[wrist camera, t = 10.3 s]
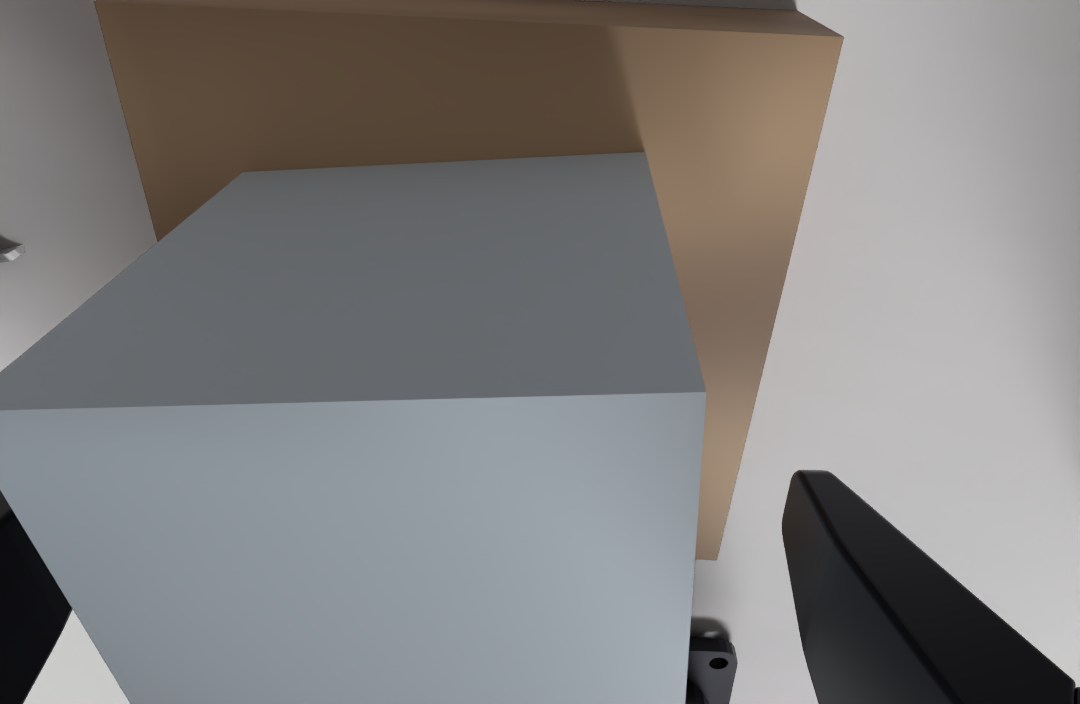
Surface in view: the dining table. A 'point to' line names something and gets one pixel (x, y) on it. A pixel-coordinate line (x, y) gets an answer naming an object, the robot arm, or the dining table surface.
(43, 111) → the dining table surface
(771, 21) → the walnut block
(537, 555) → the grey cube
